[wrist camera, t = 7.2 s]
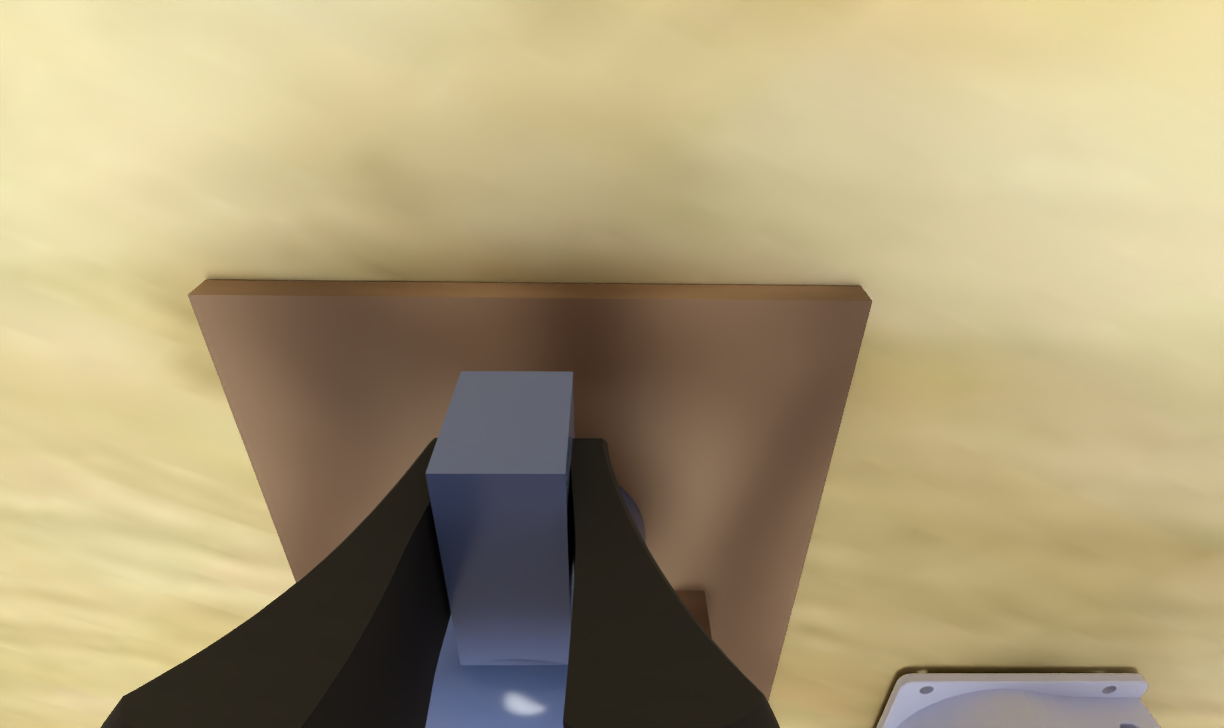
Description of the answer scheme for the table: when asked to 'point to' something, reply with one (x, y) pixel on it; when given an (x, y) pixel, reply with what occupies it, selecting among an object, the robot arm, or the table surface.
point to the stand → (603, 408)
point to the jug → (505, 549)
